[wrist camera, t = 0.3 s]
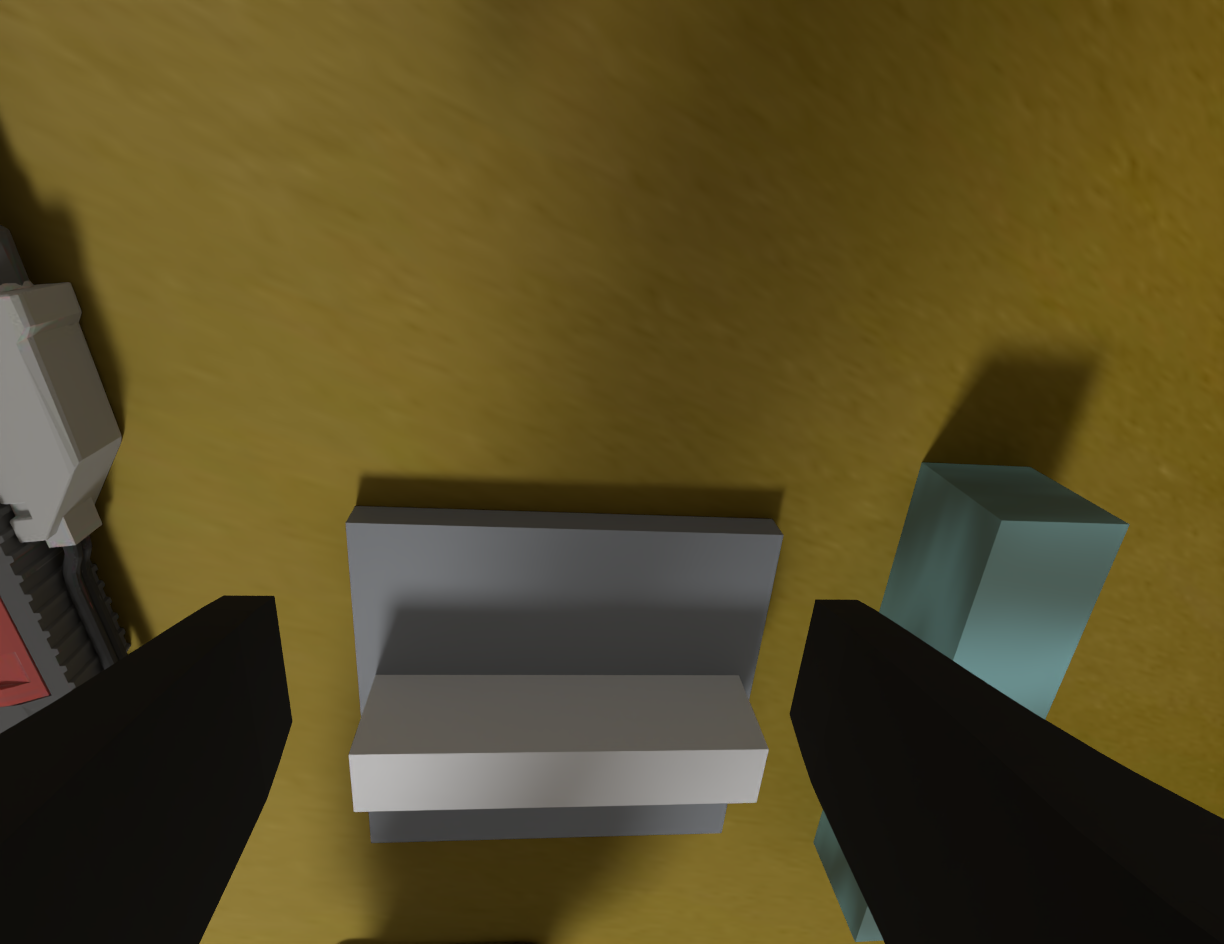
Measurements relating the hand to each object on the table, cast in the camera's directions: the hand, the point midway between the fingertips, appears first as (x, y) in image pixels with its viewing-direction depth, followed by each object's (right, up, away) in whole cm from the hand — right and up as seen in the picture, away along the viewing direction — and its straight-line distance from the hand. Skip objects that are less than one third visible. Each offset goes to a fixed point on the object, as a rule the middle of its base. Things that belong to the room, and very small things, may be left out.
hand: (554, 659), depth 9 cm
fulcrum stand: (-1, -4, +13) cm, 13 cm away
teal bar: (+11, -4, +14) cm, 19 cm away
